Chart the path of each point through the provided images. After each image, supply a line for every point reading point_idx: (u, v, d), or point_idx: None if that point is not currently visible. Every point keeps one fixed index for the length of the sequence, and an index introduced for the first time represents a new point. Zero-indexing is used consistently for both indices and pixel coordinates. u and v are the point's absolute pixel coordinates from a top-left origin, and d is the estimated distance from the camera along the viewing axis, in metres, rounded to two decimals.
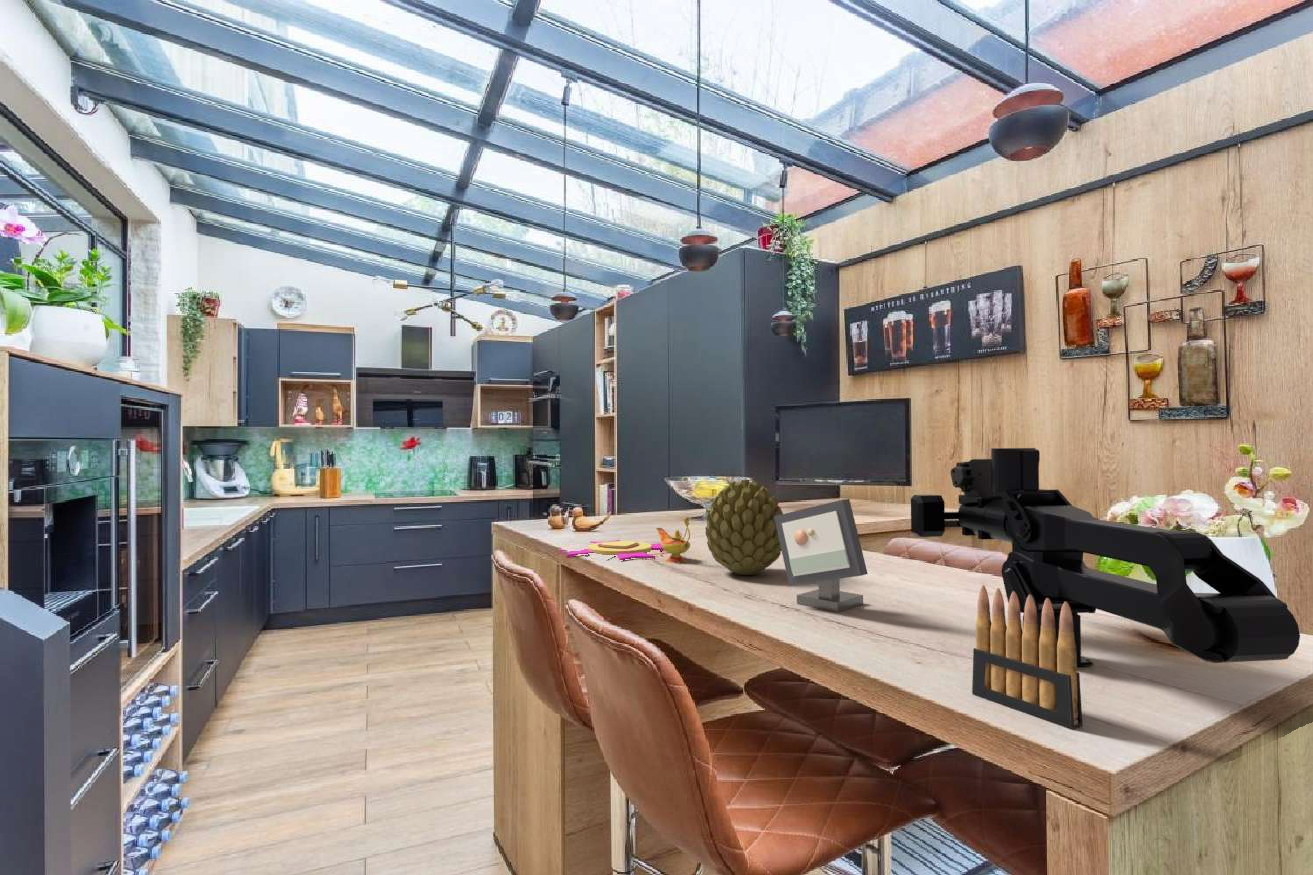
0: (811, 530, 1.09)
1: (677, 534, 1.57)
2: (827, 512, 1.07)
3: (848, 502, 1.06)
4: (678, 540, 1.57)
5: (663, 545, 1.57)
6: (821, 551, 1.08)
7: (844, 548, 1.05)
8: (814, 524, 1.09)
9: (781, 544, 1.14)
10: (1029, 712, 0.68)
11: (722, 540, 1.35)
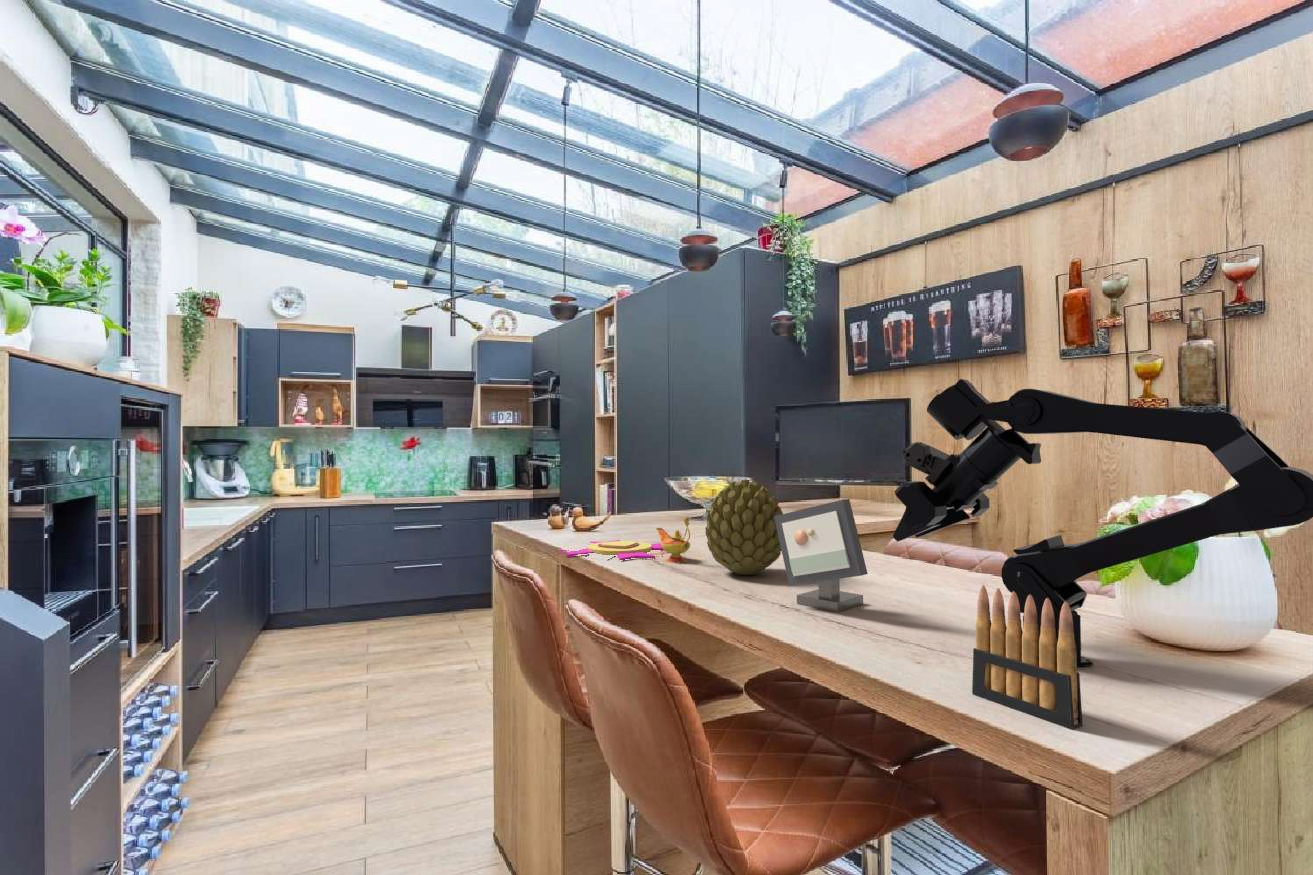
0: (811, 530, 1.09)
1: (677, 534, 1.57)
2: (827, 512, 1.07)
3: (848, 502, 1.06)
4: (678, 540, 1.57)
5: (663, 545, 1.57)
6: (821, 551, 1.08)
7: (844, 548, 1.05)
8: (814, 524, 1.09)
9: (781, 544, 1.14)
10: (1029, 712, 0.68)
11: (722, 540, 1.35)
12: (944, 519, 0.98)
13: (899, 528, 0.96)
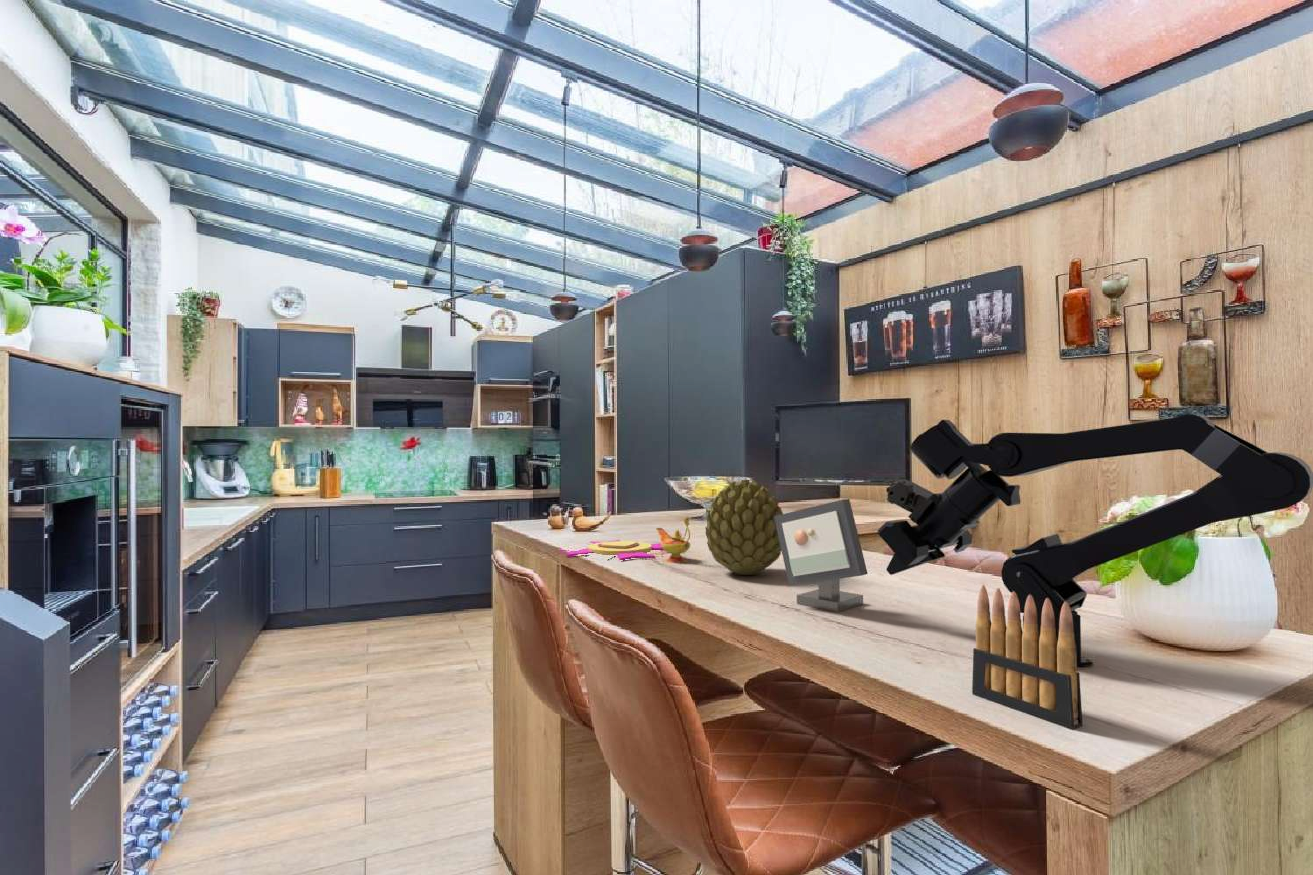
0: (811, 530, 1.09)
1: (677, 534, 1.57)
2: (827, 512, 1.07)
3: (848, 502, 1.06)
4: (678, 540, 1.57)
5: (663, 545, 1.57)
6: (821, 551, 1.08)
7: (844, 548, 1.05)
8: (814, 524, 1.09)
9: (781, 544, 1.14)
10: (1029, 712, 0.68)
11: (722, 540, 1.35)
12: None
13: (892, 562, 0.99)
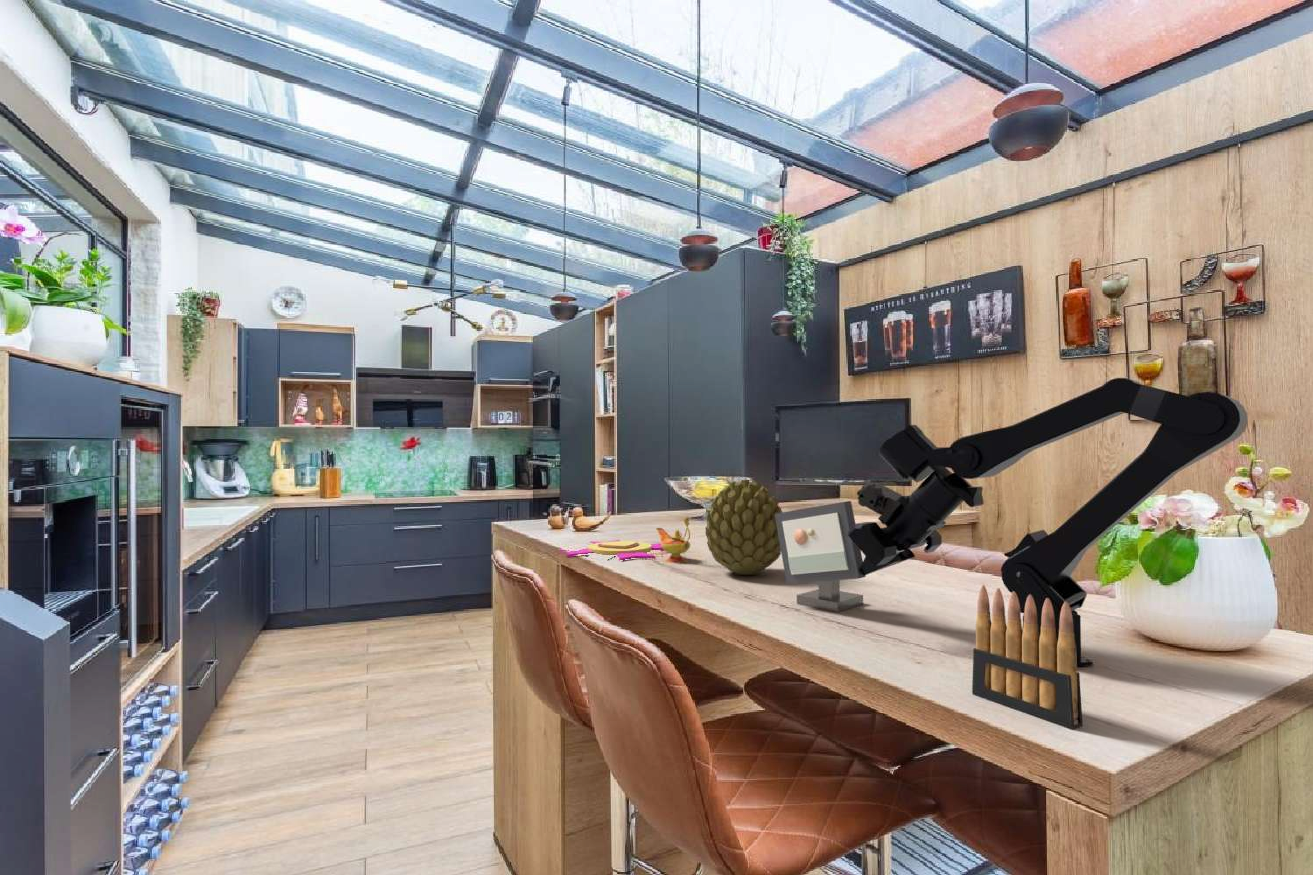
0: (811, 530, 1.09)
1: (677, 534, 1.57)
2: (828, 514, 1.07)
3: (850, 504, 1.06)
4: (678, 540, 1.57)
5: (663, 545, 1.57)
6: (820, 552, 1.08)
7: (843, 550, 1.05)
8: (814, 524, 1.09)
9: (780, 542, 1.14)
10: (1029, 712, 0.68)
11: (722, 540, 1.35)
12: None
13: (865, 563, 1.03)
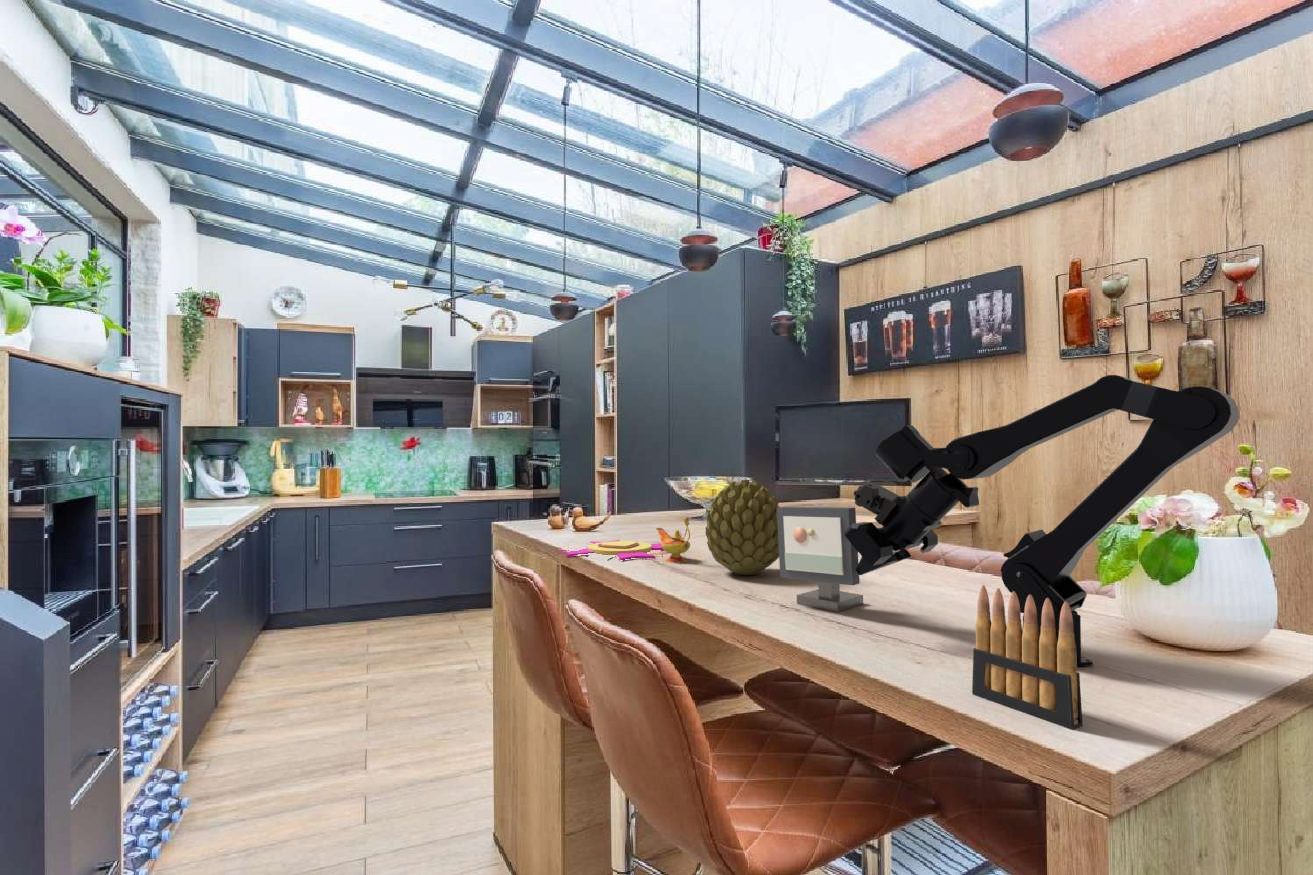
0: (811, 530, 1.09)
1: (677, 534, 1.57)
2: (831, 517, 1.07)
3: (853, 511, 1.06)
4: (678, 540, 1.57)
5: (663, 545, 1.57)
6: (818, 553, 1.09)
7: (841, 555, 1.05)
8: (815, 525, 1.09)
9: (779, 536, 1.15)
10: (1029, 712, 0.68)
11: (722, 540, 1.35)
12: None
13: (861, 563, 1.03)
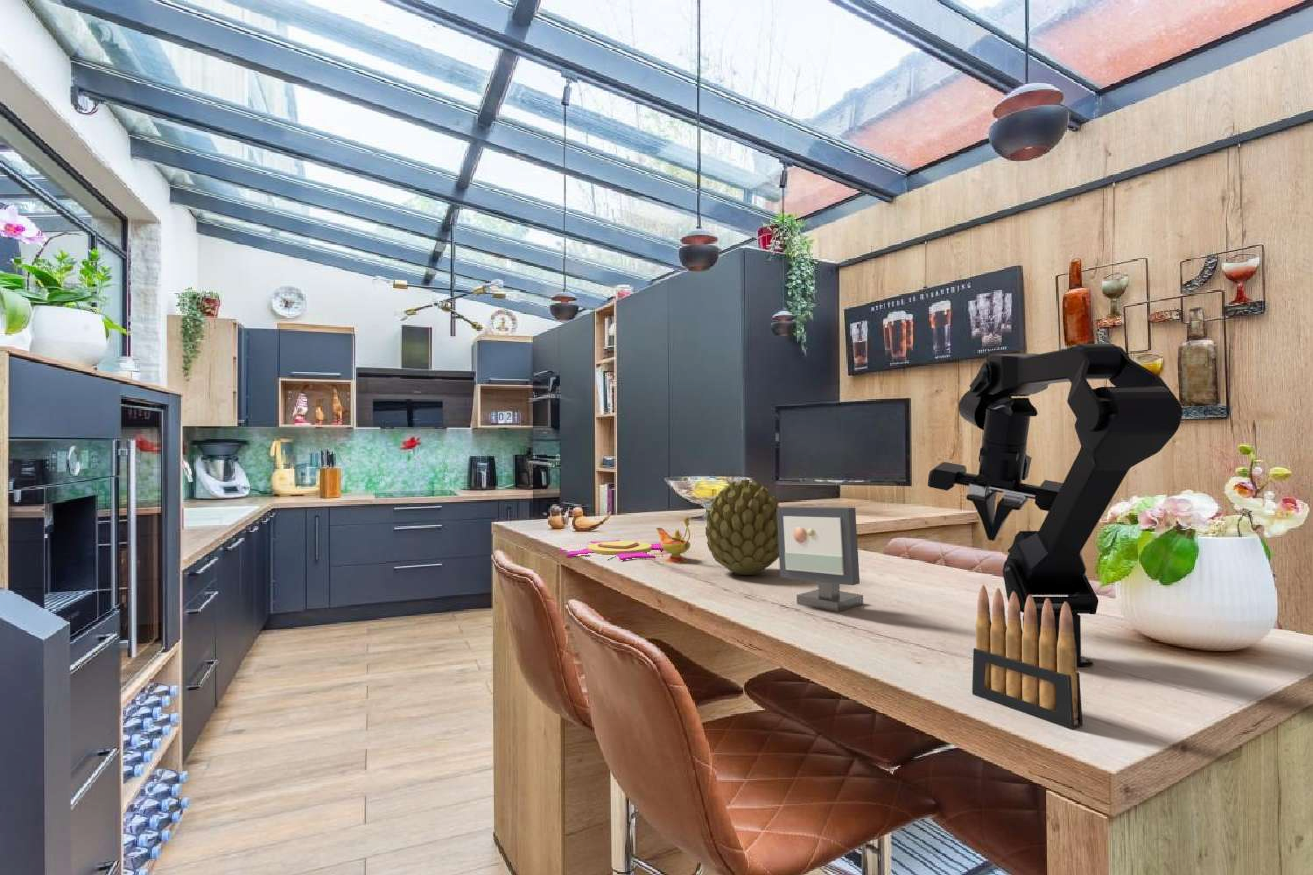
0: (811, 530, 1.09)
1: (677, 534, 1.57)
2: (831, 517, 1.07)
3: (853, 511, 1.06)
4: (678, 540, 1.57)
5: (663, 545, 1.57)
6: (818, 553, 1.09)
7: (841, 555, 1.05)
8: (815, 525, 1.09)
9: (779, 536, 1.15)
10: (1029, 712, 0.68)
11: (722, 540, 1.35)
12: None
13: None
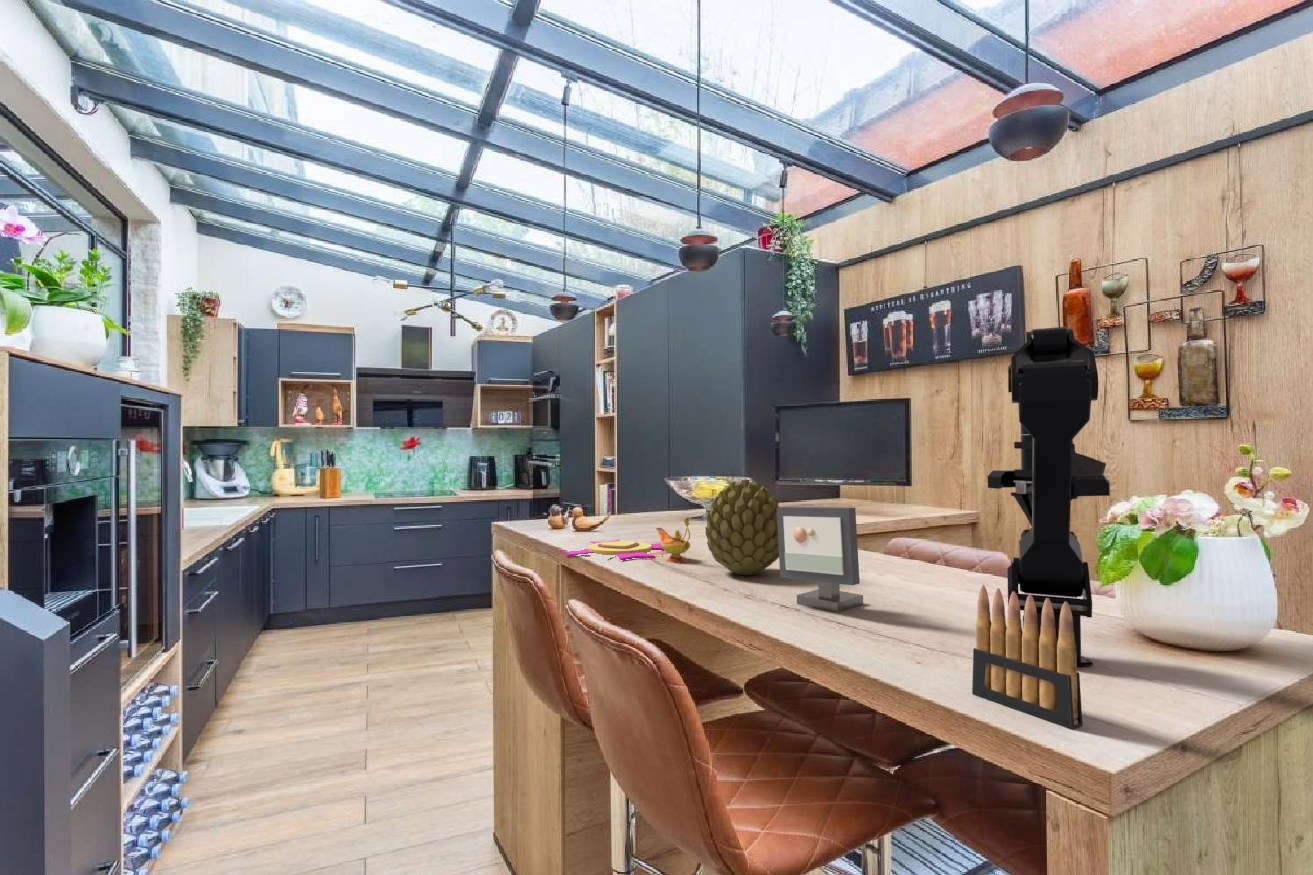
0: (811, 530, 1.09)
1: (677, 534, 1.57)
2: (831, 517, 1.07)
3: (853, 511, 1.06)
4: (678, 540, 1.57)
5: (663, 545, 1.57)
6: (818, 553, 1.09)
7: (841, 555, 1.05)
8: (815, 525, 1.09)
9: (779, 536, 1.15)
10: (1029, 712, 0.68)
11: (722, 540, 1.35)
12: None
13: None
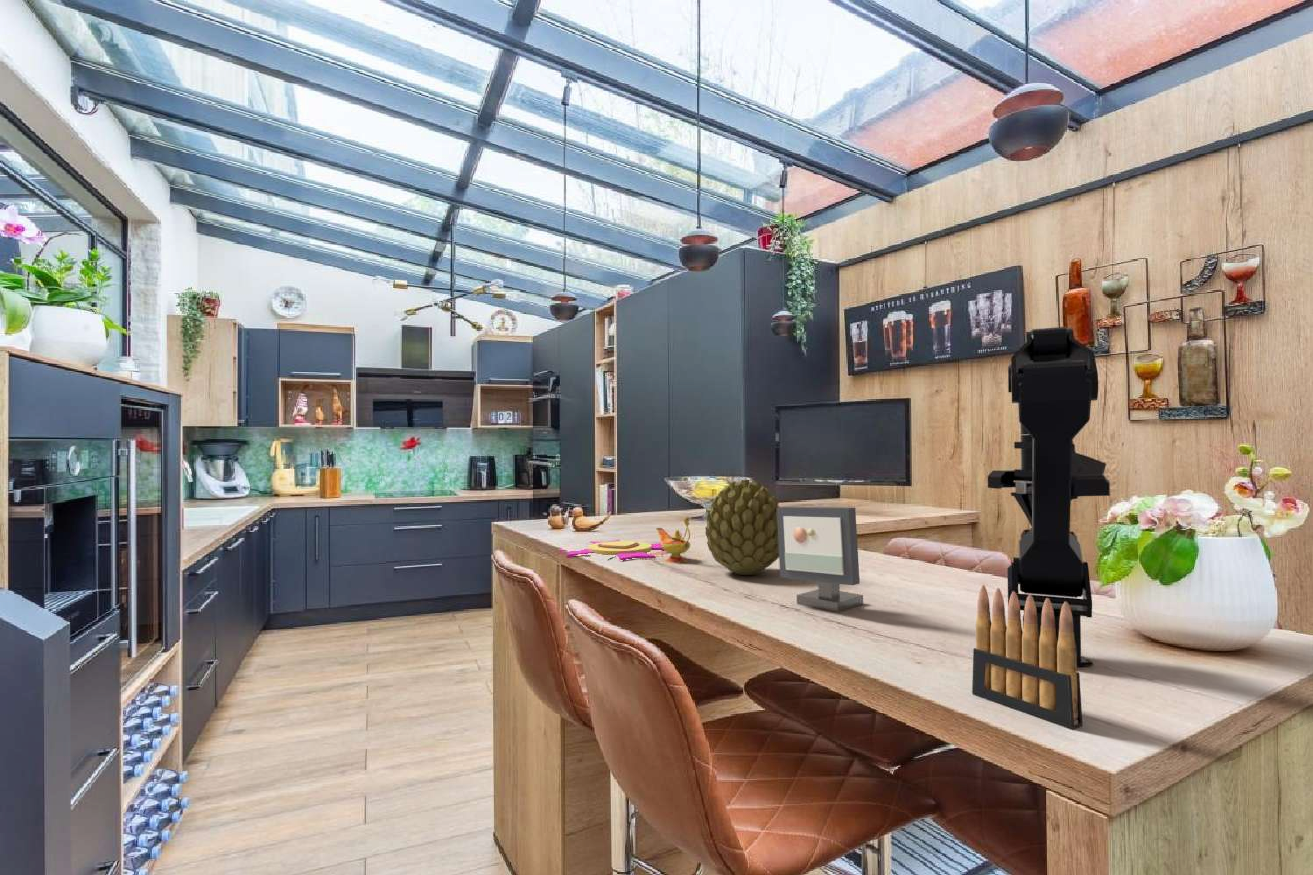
0: (811, 530, 1.09)
1: (677, 534, 1.57)
2: (831, 517, 1.07)
3: (853, 511, 1.06)
4: (678, 540, 1.57)
5: (663, 545, 1.57)
6: (818, 553, 1.09)
7: (841, 555, 1.05)
8: (815, 525, 1.09)
9: (779, 536, 1.15)
10: (1029, 712, 0.68)
11: (722, 540, 1.35)
12: None
13: None
